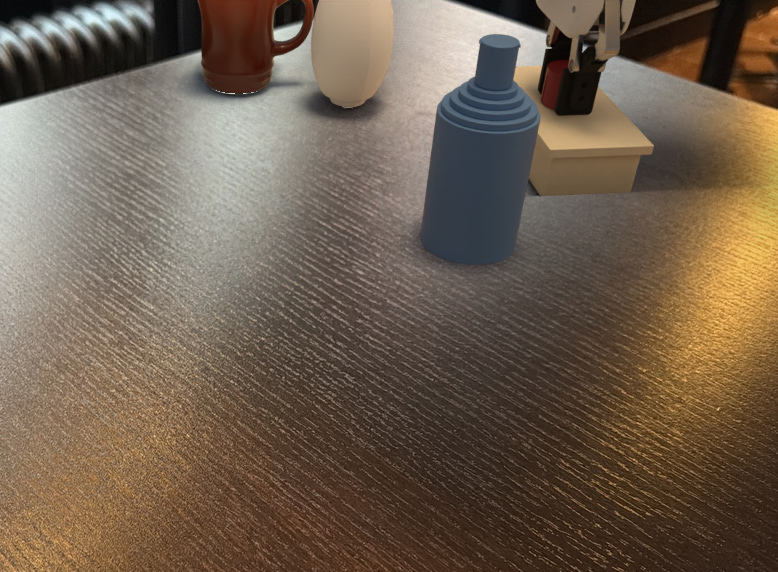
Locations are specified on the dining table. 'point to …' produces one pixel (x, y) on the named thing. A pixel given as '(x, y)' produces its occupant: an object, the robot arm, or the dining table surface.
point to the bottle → (480, 161)
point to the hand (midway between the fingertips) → (563, 101)
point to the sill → (582, 146)
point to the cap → (552, 82)
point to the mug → (243, 42)
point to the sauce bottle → (351, 48)
